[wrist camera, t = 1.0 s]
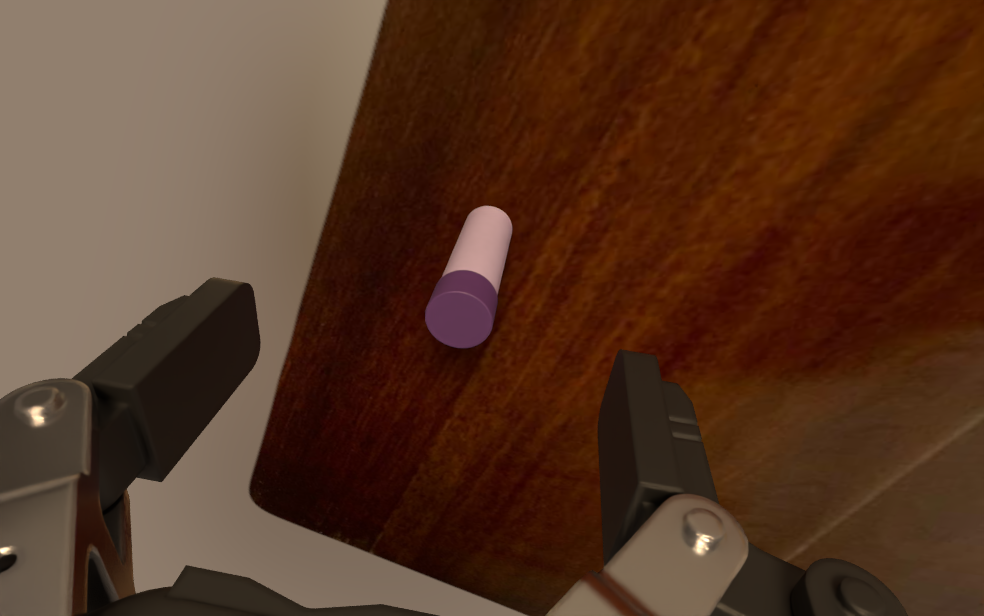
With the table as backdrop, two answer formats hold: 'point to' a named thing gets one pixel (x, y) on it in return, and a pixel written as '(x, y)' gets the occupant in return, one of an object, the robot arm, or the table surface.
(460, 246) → the glue stick
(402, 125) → the table surface
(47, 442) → the robot arm
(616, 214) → the table surface
